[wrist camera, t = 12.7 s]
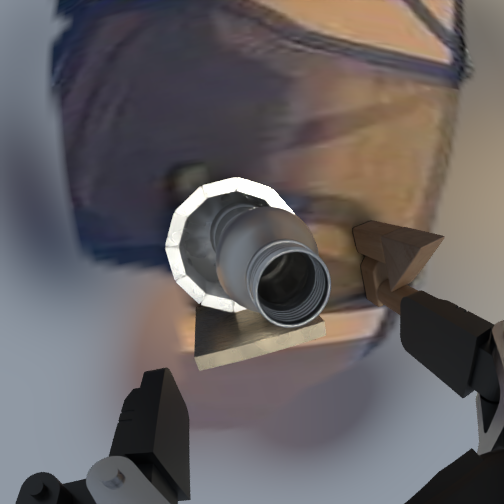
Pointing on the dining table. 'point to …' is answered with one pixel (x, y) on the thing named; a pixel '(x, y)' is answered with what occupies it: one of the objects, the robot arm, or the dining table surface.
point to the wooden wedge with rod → (392, 260)
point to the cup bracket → (209, 288)
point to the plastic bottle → (269, 263)
